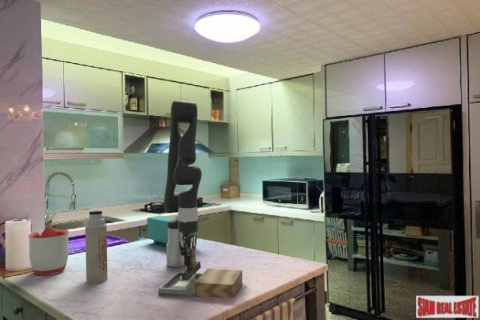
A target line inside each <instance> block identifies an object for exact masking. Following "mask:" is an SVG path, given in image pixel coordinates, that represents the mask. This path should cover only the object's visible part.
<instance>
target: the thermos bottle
mask: <svg viewBox="0 0 480 320" xmlns="http://www.w3.org/2000/svg"><path fill="white" fill-rule="evenodd" d="M88 215H89V216H88V218H89V219H87V220H86V223H87V224H86V225H85V228H84V229H85V233H84V234H85V272H86V273H85V279H86V281H85V282H86V283H88V284H101V283H104V282H106V281H107V280H108V277H109V276H108V244H107V243H108V232H107V231H108V230H107V226H108V225H107V224H106V221H105V220H106V219H105V218H103V211H102V210H92V211H91V210H90V211H89V212H88Z"/></svg>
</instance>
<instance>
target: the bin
mask: <svg viewBox="0 0 480 320" xmlns="http://www.w3.org/2000/svg"><path fill="white" fill-rule="evenodd" d="M182 272H183V271H177V272H176V273H174V274H173V275H172V276H171V277H170V278H169V279H167V281H165V282H164V283H162V284H161V285H160V286H159V287H158V289H157V290H158V293H157V294H158V296H162V297H163V296H164V297H177V298H189V299H190V298H191V299H193V298H194V297H196V296H195V283H194V282H195V281H196V280H197V279H198V278H199V277H200V276H201V275H202V274H203V273H204V272H201V273H200V272H196V273H195V280H194V281H193V282H192V283H191V284H190V288H189V289H188V290H187V289H174V285H176V284H177V283H178V282H179V281H180V277H181V276H182V274H181V273H182Z"/></svg>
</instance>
